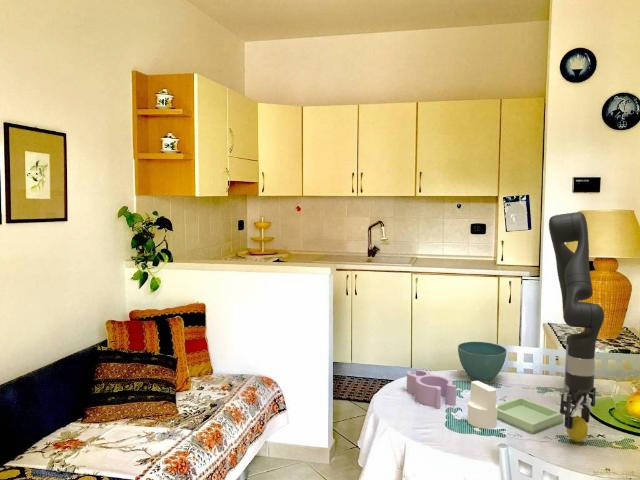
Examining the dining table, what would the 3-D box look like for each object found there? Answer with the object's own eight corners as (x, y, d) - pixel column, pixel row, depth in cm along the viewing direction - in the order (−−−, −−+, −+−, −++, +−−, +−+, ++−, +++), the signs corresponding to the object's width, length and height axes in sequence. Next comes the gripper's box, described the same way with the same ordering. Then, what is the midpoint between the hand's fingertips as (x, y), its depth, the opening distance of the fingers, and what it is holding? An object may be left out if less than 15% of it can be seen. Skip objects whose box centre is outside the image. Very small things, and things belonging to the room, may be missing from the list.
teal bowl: (495, 390, 200) (497, 358, 199) (449, 379, 211) (450, 348, 209) (511, 377, 214) (513, 347, 213) (467, 367, 225) (468, 338, 224)
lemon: (562, 438, 162) (563, 412, 161) (580, 437, 162) (581, 411, 162) (572, 446, 156) (574, 420, 156) (590, 446, 157) (592, 419, 156)
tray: (519, 405, 186) (520, 396, 186) (563, 422, 173) (563, 413, 173) (489, 415, 177) (489, 406, 177) (532, 434, 164) (532, 424, 164)
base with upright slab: (461, 419, 175) (462, 382, 173) (483, 414, 178) (485, 379, 177) (480, 430, 166) (481, 392, 165) (503, 425, 170) (504, 388, 169)
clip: (398, 390, 199) (398, 372, 198) (425, 385, 204) (426, 367, 204) (432, 411, 181) (433, 390, 180) (461, 404, 187) (462, 385, 186)
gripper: (581, 363, 165) (578, 415, 166) (553, 371, 157) (550, 425, 158) (606, 370, 159) (602, 424, 160) (578, 378, 151) (575, 435, 152)
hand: (576, 424), depth 159 cm, fingers open, 8 cm apart
